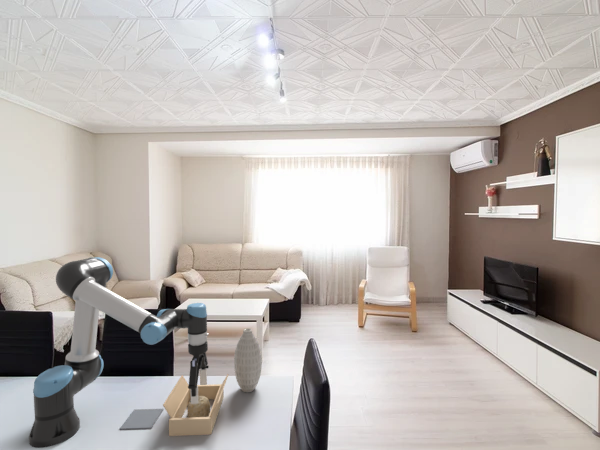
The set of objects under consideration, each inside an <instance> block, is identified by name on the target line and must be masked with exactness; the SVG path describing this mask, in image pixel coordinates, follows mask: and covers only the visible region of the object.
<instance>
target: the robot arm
mask: <svg viewBox="0 0 600 450" xmlns="http://www.w3.org/2000/svg"><path fill="white" fill-rule="evenodd" d="M113 275H114V269H113V266H112V264H111V263H110V262H109V261H108V260H107V259H105V258H103V257H101V256H100V257H99V256H97V257H88V258H83V259H78V260H73V261H69V262H67V263H65V264H63V265H62V266H61V267H60V268H59V269H58V271H57V272H56V274H55V282H56V283H55V284H56V286H57V288H58V289H59V290H60V292H62V294H64V295H65V296H67V297H68V298H70V299H71V300H74V301H75V304H74V315H73V325H72V333H71V335H72V336H71V345H70V351H69V352H68V353H67V354H66V355H65V360H64V365H63V364H62V365H57V366H53V367H52V368H48V369H46V370H45V371H42V372H41V373H40V374H39V375H38V376H37V377H36V378H35V380H34V384H33V389H32V391H33V392H32V393H33V406H34V409H33V410H34V421H33V423H32V427H31V429H30V431H29V432H30V433H29V436H28V444H29V446H31V447H33V448H35V449H37V448H39V449H40V448H41V449H43V448H49V447H52V446H56V445H59V444H61V443H63V442H65V441H66V440H68V439H70V438H72V436H74V435H75V434H76V433H77V432H78V431H79V429H80V428H81V421H80V420H81V419H80V417H79V416H78V414H77V412H76V409H75V407H74V405H75V404H74V403H75V402H74V400H75V399H74V397H75V395H77V394H78V393H79V392H81V391H82V390H83V389H85V388H86V387H87V386H89V385H90V384H92V383H94V381H96V379H98V377H100V376H101V374H102V372H103V369H104V366H105V365H104V360H103V358H102V356H101V354H100V352H99V350H98V349H96V347H97V346H96V345H97V338H98V337H97V335H98V327H99V317H100V312H102V313H103V314H106V315H107V316H109V317H111V318H113V319H114V320H116V321H118V322H120V323H122V324H123V325H125V326H127V327H128V328H129V329H132V330H133V331H136V332H138V333H139V334H140V339H142V342H143V343H145V344H147V345H151V346H152V345H156V344H158V343H159V342H161V341H163V340H164V339H165V338H166V337H167V336H168V335H169V334H171V333H172V332H173V331H175V330H176V329H187V343H188V344H187V345H188V346H187V350H188V354H189V355H190V356H192V358H191V359H192V360H190V364H189V365H190V369H189V376H188V378H189V379H188V385H189V386H188V389H190V391H191V400H190V402H191V404H198V386H197V385H198V382H199V385H208V378H207V377H208V375H207V373H208V371H207V369H209V367H210V366H209V365H208V364H209V363H208V358H207V351H208V347H209V346H208V336H209V333H208V312H207V306H206V304H205V303H202V302H196V303H195V302H194V303H191V304H188V305H187V307H186V308H166V309H164V308H163V309H161V310H159V311H158V312H157V314H156V315H155V314H153V313H151V312H149V311H148V310H146V309H144V308H142V307H140V306H139V305H137V304H135V303H133V302H132V301H130V300H128V299H126V298H124V297H123V296H121V295H119V294H117V293H116V292H114V291H112V290H110V289H109V288H107V283H108V282H109V281H110V280H111V279H112V277H113Z"/></svg>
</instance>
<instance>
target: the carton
mask: <svg viewBox="0 0 600 450" xmlns="http://www.w3.org/2000/svg"><path fill="white" fill-rule="evenodd" d="M229 375H230V374H229V373H227V374H226V376H225V378H224V380H223V382H222V383H219V384H218V383H217V384H213V383H212V384H207V385H200V384H197V386H198V396H205V397H206V398H208V400H214V401H213V403H212V406H211V408H210V414H209V416H208V417H190V418H189V417H184V414H185V413H186V410H187V408H188V405H189V403H190V402H191V391H190V389H188V386H189V382H188V381H187V380H186V378H185V377H184V375H180V378H179V379H178V380H177V382H176V384H175V385H174V387H173V389H172V390H171V392H170V393H169V394H168V396H167V398H166V399H165V401H164V403H162V406H163V409H164V410H165V411H166V412H167V414H168V416H169V419H168V435H169V437H179V436H180V437H182V436H205V435H206V436H207V435H208V436H209V435H212V433H213V429H214V427H215V425H216V421H217V417H218V416H219V412H220V409H221V406H222V404H223V403H222V402H223V400H224V396H225V395H224V388H225V385H226V383H227V381H228V377H229Z"/></svg>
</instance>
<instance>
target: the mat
mask: <svg viewBox="0 0 600 450" xmlns="http://www.w3.org/2000/svg"><path fill="white" fill-rule="evenodd" d="M163 411H164V408H141V409H137V408H136V409H133V411H131V413H130V415H129V416H128V417H127V418H126V419H125V421H124V422H123V423H122V425H121V426H120V427H119V430H120V431H121V430H122V431H123V430H124V431H125V430H145V429H148V430H149V429H152V428H153V427H154V425H155V424H156V422H157V420H158V419H159V417H160V416H161V414H162V413H163Z"/></svg>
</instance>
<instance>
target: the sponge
mask: <svg viewBox="0 0 600 450" xmlns="http://www.w3.org/2000/svg"><path fill="white" fill-rule="evenodd" d="M186 410H187V412H186V413H187V418H190V417H209V414H210V411H211V403H210V399H208V398H206V397H205V396H198V404H191V401H190V402H189V404H188V406H187V408H186Z"/></svg>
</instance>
